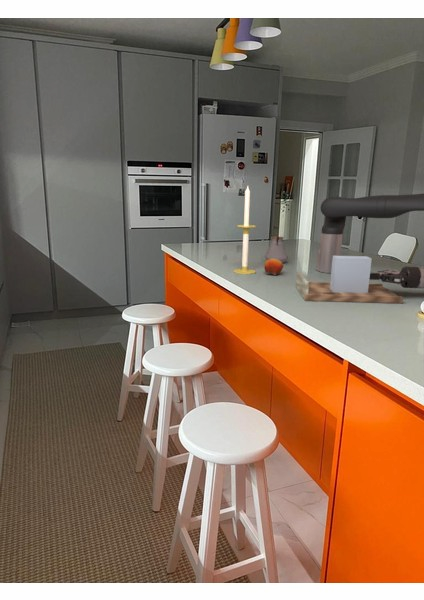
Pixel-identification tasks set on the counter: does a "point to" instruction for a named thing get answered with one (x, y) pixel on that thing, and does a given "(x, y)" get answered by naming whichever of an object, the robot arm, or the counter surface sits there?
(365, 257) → the block
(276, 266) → the fruit
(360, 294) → the lane
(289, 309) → the counter surface
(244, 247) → the candle
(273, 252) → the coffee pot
